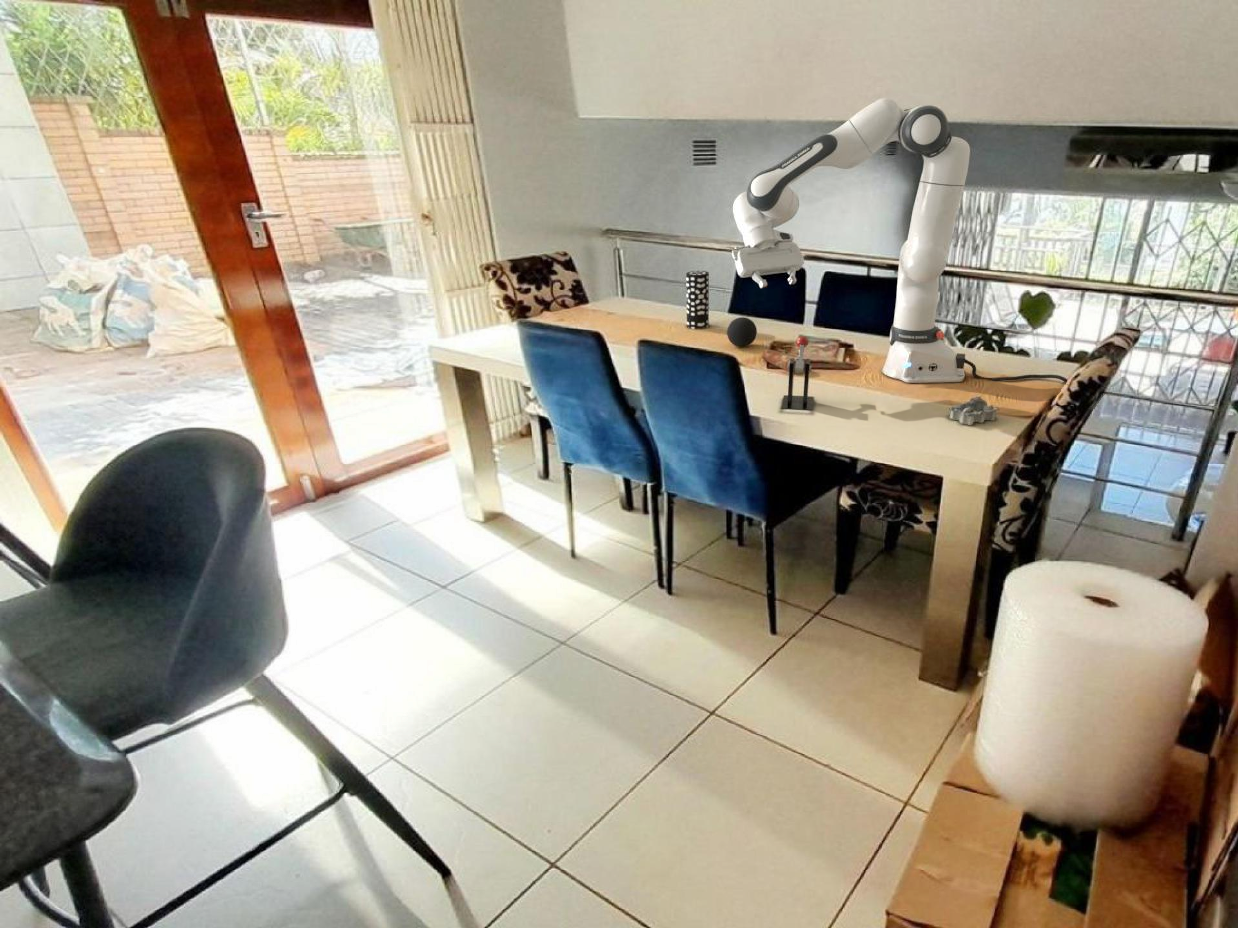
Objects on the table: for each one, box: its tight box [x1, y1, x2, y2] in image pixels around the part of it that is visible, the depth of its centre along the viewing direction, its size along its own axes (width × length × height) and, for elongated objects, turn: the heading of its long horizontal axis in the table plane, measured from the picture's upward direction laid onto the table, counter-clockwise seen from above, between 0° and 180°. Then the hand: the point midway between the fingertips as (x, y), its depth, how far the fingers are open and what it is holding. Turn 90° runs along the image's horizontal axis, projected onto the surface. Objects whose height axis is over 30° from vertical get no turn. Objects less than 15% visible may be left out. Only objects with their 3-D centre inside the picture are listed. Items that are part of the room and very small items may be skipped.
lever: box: [794, 335, 810, 375], centre depth 188 cm, size 13×3×3 cm, turn 162°
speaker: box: [726, 316, 758, 348], centre depth 240 cm, size 10×10×10 cm
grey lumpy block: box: [947, 395, 1000, 426], centre depth 176 cm, size 11×8×4 cm
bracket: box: [780, 358, 815, 412], centre depth 187 cm, size 10×8×13 cm
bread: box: [761, 349, 806, 375], centre depth 218 cm, size 6×19×6 cm, turn 20°
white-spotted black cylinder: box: [685, 270, 710, 330], centre depth 265 cm, size 8×8×20 cm
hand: (778, 284), depth 197 cm, fingers open, 8 cm apart
